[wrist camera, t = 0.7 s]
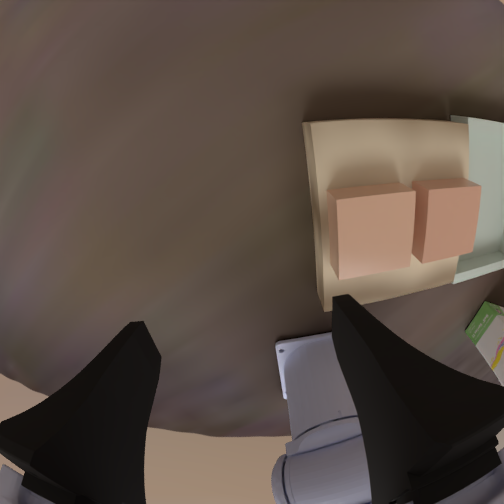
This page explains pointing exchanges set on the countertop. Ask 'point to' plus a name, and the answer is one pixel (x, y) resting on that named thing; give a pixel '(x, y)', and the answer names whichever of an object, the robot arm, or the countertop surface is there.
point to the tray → (485, 198)
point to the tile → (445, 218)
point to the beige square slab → (379, 172)
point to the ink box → (489, 336)
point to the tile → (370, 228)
